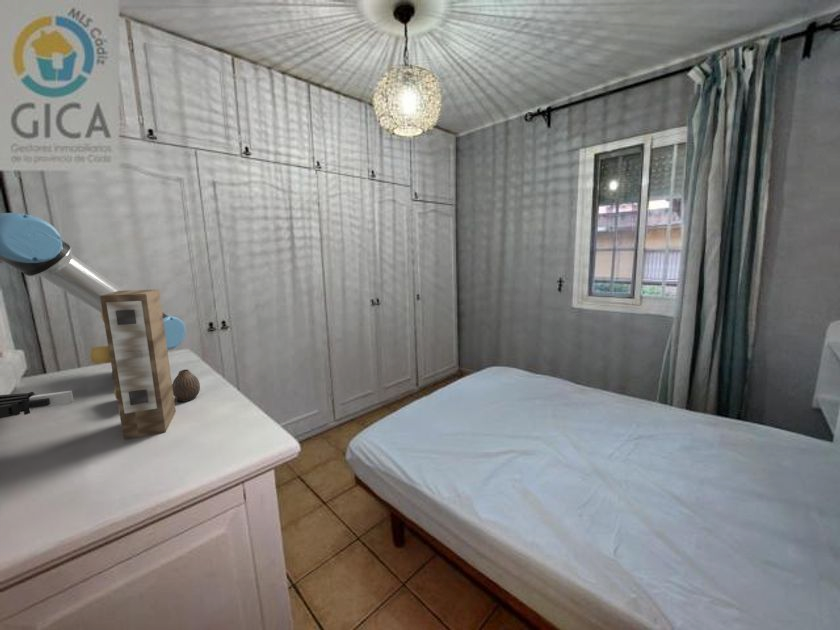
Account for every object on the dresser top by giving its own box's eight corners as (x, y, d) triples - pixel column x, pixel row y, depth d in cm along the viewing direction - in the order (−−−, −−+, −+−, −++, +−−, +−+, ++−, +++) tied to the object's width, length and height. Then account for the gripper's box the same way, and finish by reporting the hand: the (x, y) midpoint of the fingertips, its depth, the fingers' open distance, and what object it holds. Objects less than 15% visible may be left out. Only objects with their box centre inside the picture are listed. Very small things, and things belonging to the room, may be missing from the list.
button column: (122, 441, 77) (98, 296, 72) (139, 417, 89) (119, 290, 83) (165, 433, 81) (145, 294, 75) (175, 411, 92) (159, 289, 86)
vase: (187, 404, 97) (183, 375, 95) (167, 402, 98) (163, 373, 97) (206, 394, 104) (203, 367, 102) (188, 392, 105) (184, 366, 103)
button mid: (92, 366, 77) (89, 349, 76) (99, 361, 80) (96, 345, 79) (114, 363, 78) (112, 347, 78) (120, 359, 82) (118, 343, 81)
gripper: (-58, 422, 73) (86, 401, 84) (-115, 452, 62) (60, 424, 72) (-67, 390, 72) (81, 373, 82) (-126, 415, 60) (54, 391, 71)
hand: (71, 397), depth 77 cm, fingers closed
